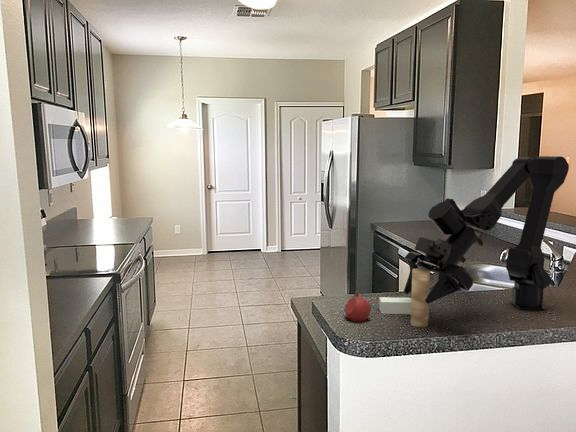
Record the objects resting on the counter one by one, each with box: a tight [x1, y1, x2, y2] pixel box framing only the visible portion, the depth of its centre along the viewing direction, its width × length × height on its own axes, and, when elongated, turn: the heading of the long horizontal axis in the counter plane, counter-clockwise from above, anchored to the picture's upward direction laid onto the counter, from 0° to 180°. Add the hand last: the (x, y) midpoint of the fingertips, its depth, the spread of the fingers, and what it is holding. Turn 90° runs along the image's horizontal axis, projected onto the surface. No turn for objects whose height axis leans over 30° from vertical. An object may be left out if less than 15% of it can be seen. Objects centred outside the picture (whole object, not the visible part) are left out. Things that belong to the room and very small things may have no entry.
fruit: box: [344, 296, 379, 323], centre depth 119 cm, size 6×6×8 cm
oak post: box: [410, 268, 431, 328], centre depth 115 cm, size 4×4×13 cm
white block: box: [378, 296, 411, 315], centre depth 124 cm, size 8×4×3 cm, turn 87°
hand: (415, 297), depth 114 cm, fingers open, 8 cm apart
